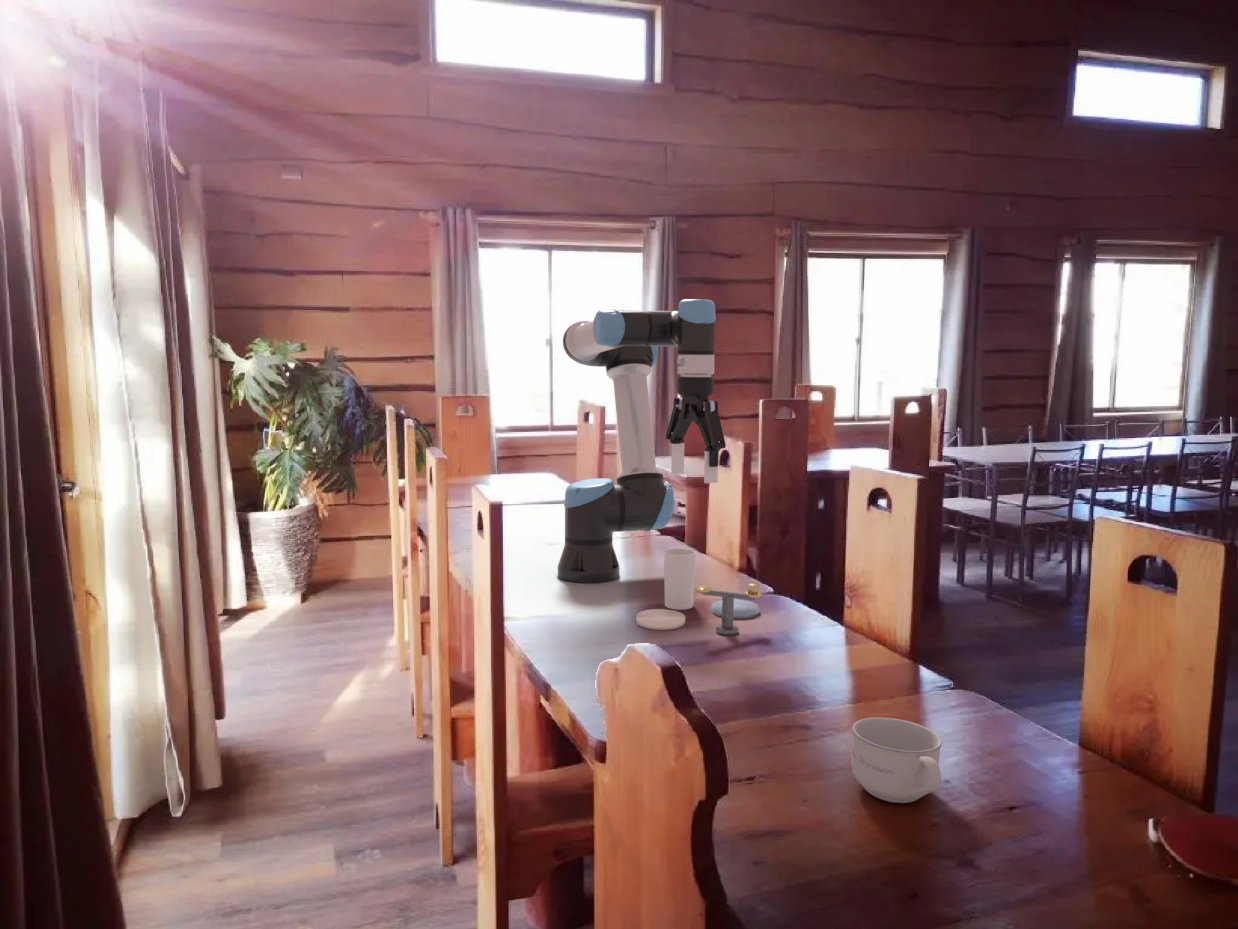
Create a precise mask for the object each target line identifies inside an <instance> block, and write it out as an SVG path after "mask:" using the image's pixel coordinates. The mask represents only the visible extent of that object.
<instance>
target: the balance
mask: <svg viewBox="0 0 1238 929" xmlns="http://www.w3.org/2000/svg"><path fill="white" fill-rule="evenodd" d="M694 592H696V593H700V594H702V595H703V596H711V597H721V600H722V617H721V624H720V625H716V628H715V632H716V634H719V635H721V636H731V637H732V636H736V635H738V634H739V626H736V625H735V624H734V618H733V610H734V599H738V600H746V601H755V599H759V598H761V597H762V593H761V592H759V584H758V583H753V582H751V583H748V584H747V591H744V593H742V592H735V591H726V590H725V591H724V590H715V589H712V587H710V586H706V585H698V586H694Z"/></svg>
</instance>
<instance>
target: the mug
mask: <svg viewBox="0 0 1238 929" xmlns="http://www.w3.org/2000/svg"><path fill="white" fill-rule="evenodd" d="M663 552H664V558H663V559H664V560H663V561H664V562H663V563H664V564H663V566H664V568H663V569H664V572H663V574H664V578H663V579H664V588H663V589H664V591H663V593H664V606H665V607H666V608H667V609H669V610H674V611H678V610H679V611H682V610H683V611H685V610H690V609H692V608H694V602H695V601H694V600H695V580H696V579H695V578H696V557H697V556H696V555H697V554H696V553H697V552H696V551H695V550H693V549H690V548H681V547H680V548H679V547H678V548H677V547H674V548H667V549H665V550H664V551H663Z"/></svg>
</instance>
